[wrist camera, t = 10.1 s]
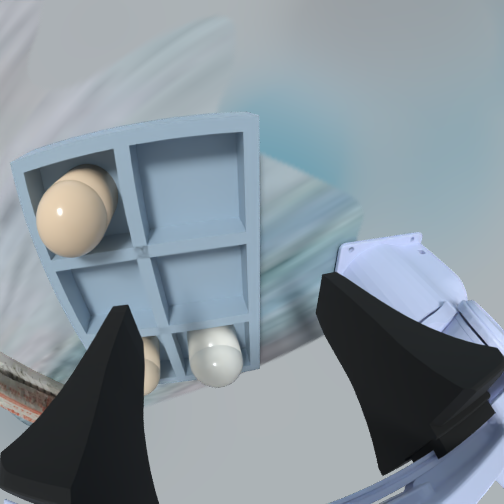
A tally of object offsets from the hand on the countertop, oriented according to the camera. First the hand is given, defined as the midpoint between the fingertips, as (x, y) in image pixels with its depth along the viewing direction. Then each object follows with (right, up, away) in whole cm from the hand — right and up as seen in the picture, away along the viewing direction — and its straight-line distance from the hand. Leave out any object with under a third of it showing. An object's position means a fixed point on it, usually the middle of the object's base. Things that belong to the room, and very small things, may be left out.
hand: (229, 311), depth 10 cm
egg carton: (-6, +1, +9) cm, 11 cm away
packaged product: (-27, -14, +13) cm, 33 cm away
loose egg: (-9, +5, +4) cm, 11 cm away
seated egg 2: (-3, -5, +12) cm, 13 cm away
